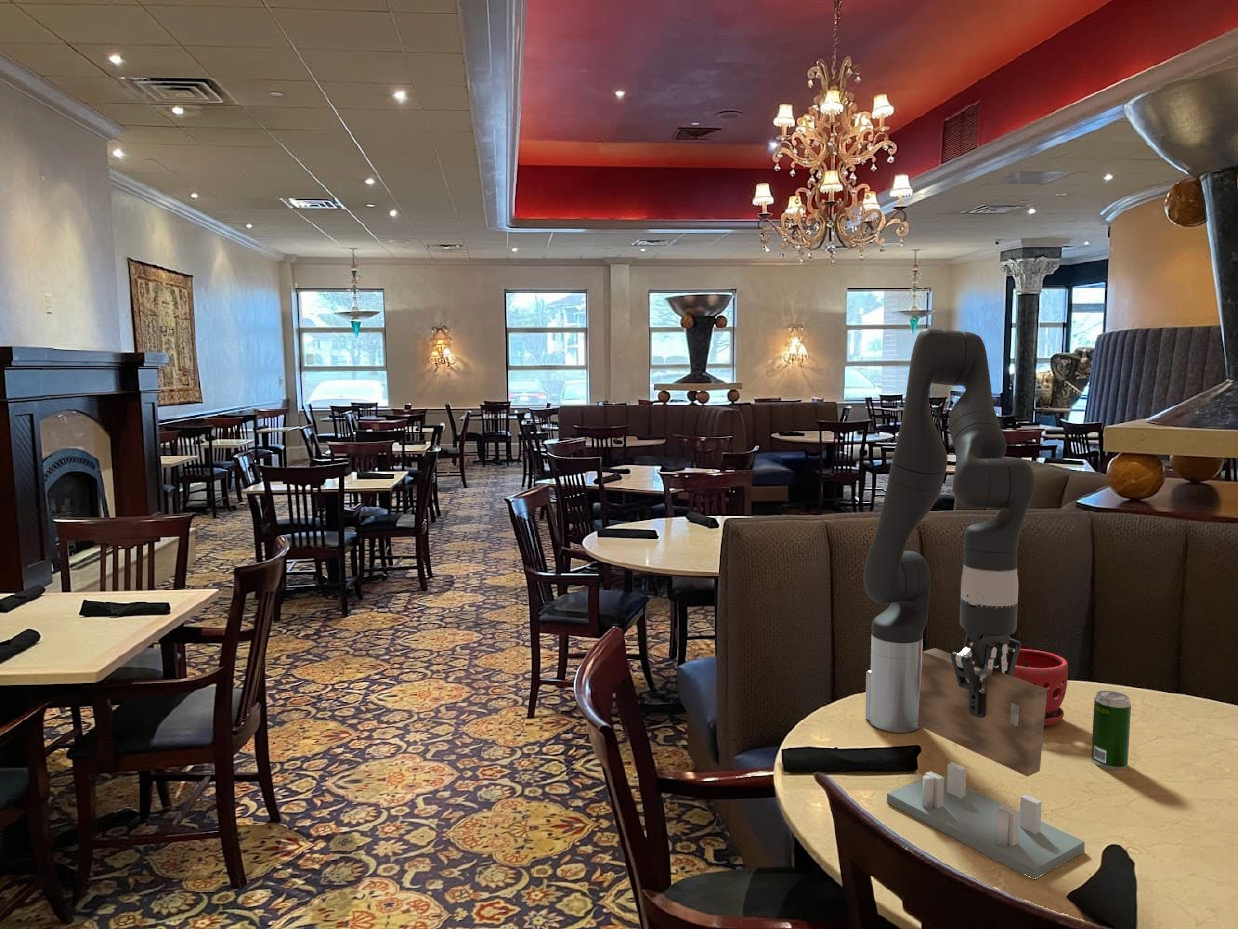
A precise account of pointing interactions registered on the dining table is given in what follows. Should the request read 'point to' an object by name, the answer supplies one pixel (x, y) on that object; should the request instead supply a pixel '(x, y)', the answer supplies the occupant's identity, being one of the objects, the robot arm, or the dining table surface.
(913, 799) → the pegged base plate
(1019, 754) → the wooden board
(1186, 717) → the dining table surface
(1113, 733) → the beer can
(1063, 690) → the plant pot
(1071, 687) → the dining table surface
